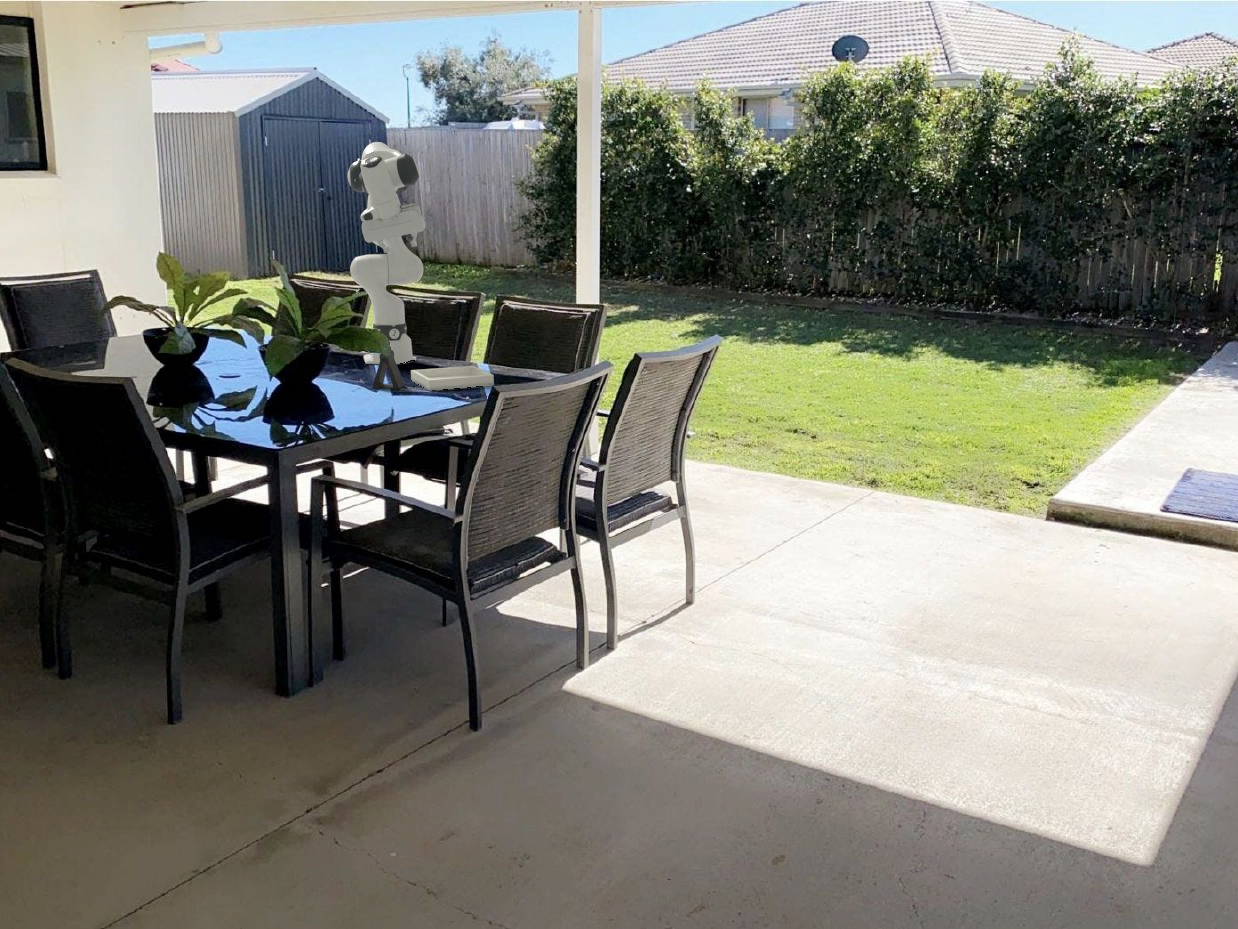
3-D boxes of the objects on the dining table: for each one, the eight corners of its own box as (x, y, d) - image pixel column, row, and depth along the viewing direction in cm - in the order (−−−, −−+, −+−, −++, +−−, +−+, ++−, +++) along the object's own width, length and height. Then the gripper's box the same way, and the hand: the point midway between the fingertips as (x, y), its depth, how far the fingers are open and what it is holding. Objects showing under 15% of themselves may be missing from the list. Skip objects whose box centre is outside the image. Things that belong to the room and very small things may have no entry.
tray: (411, 380, 389) (410, 370, 388) (473, 375, 398) (473, 365, 397) (429, 391, 372) (428, 380, 371) (493, 385, 381) (493, 375, 380)
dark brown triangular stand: (404, 385, 380) (403, 349, 377) (398, 389, 374) (397, 352, 371) (378, 385, 381) (376, 348, 378) (372, 388, 375) (370, 351, 372)
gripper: (420, 198, 371) (433, 239, 377) (359, 211, 374) (373, 251, 380) (416, 204, 365) (429, 245, 372) (355, 218, 368) (369, 258, 375)
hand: (400, 249), depth 376 cm, fingers open, 8 cm apart
